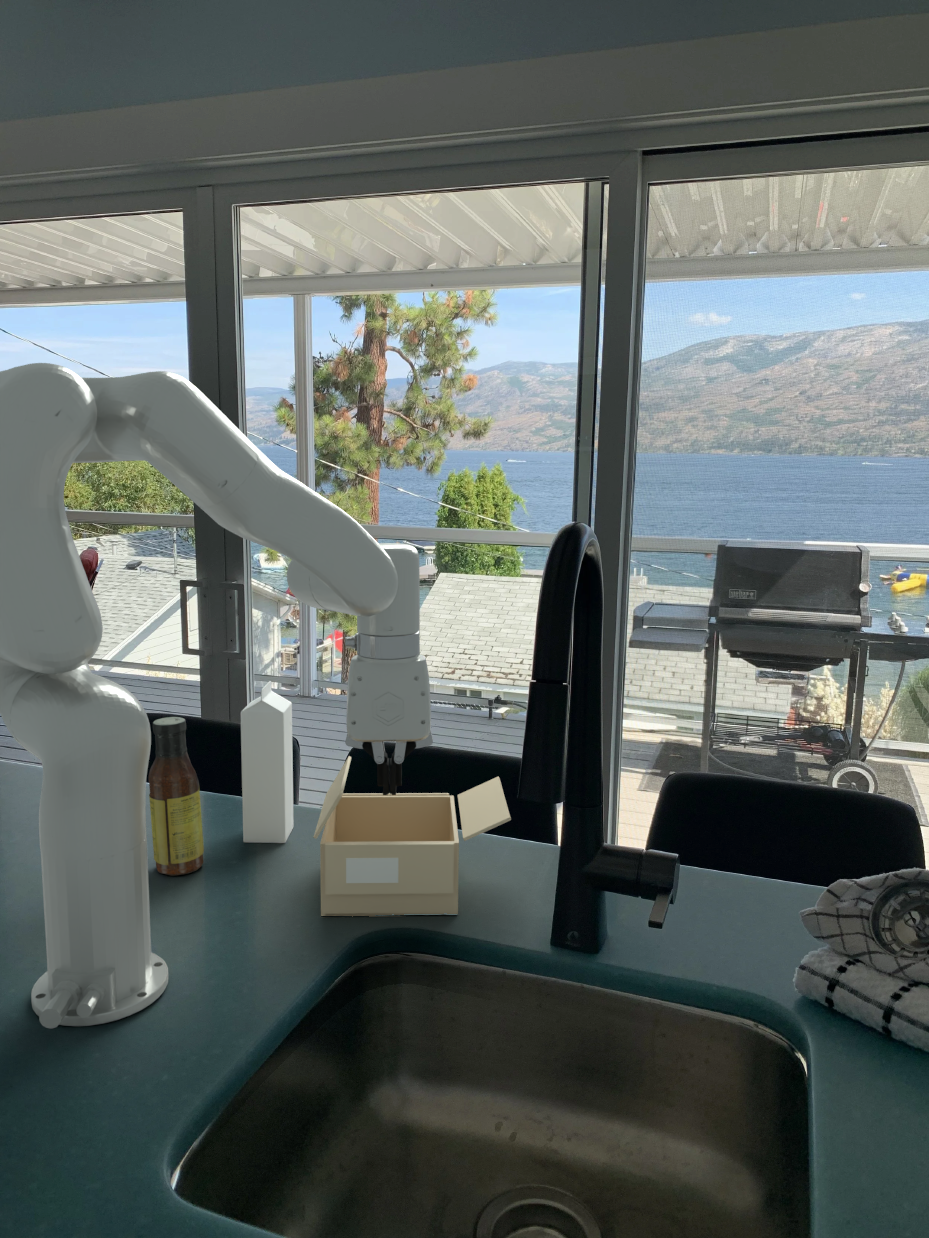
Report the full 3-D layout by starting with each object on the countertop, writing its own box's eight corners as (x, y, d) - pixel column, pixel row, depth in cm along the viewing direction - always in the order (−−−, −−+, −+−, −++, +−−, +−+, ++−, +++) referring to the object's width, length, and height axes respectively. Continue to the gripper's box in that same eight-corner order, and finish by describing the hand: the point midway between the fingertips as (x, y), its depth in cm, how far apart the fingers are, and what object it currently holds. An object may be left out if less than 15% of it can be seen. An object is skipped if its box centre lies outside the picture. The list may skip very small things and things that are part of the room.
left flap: (328, 795, 119) (326, 793, 119) (351, 757, 119) (348, 755, 119) (316, 839, 105) (313, 837, 105) (342, 795, 104) (339, 794, 104)
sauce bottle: (211, 859, 121) (207, 714, 118) (193, 879, 115) (188, 727, 112) (164, 856, 122) (159, 712, 119) (143, 876, 116) (137, 725, 113)
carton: (458, 918, 106) (459, 844, 104) (320, 920, 105) (319, 845, 104) (452, 857, 123) (453, 793, 122) (333, 858, 122) (333, 793, 121)
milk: (243, 843, 127) (238, 689, 123) (253, 826, 133) (249, 679, 129) (286, 843, 127) (282, 690, 123) (294, 827, 133) (291, 680, 129)
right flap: (463, 838, 106) (464, 841, 106) (509, 817, 106) (511, 819, 106) (457, 794, 120) (458, 797, 120) (498, 776, 120) (499, 778, 120)
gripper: (323, 652, 105) (326, 803, 108) (451, 651, 106) (451, 801, 109) (329, 640, 113) (332, 781, 116) (449, 640, 113) (448, 780, 116)
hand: (389, 791), depth 112 cm, fingers closed
